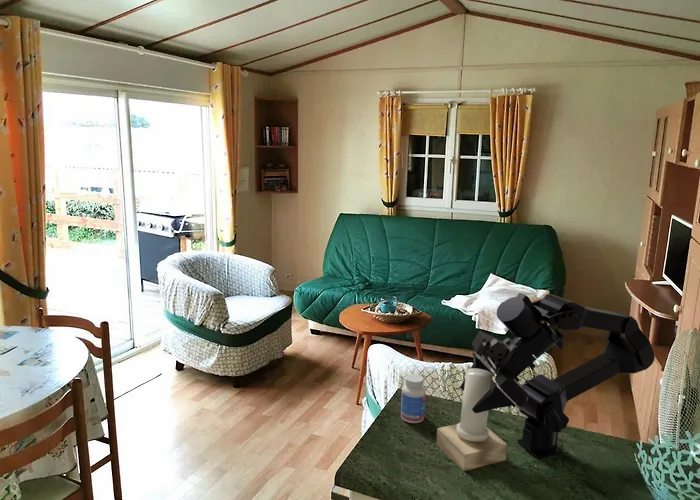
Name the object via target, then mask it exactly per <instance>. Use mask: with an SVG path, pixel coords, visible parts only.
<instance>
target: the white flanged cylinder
mask: <svg viewBox="0 0 700 500" xmlns="http://www.w3.org/2000/svg"><path fill="white" fill-rule="evenodd" d="M465 377H466V379H465V378H464V379H465V387H464V391H463V396H462V398H463V399H462V404H461V412H460V422H458V423H456V424H457V428H456V433H457V435H458V436H460V437H461V438H463V439H466V440H469V441H474V442H482V441H486V440H487V439H488V434H489V430H490V429H489V428H488V427H487V424H488V415H489V410H488V411H484V412H480V413H474V412H473V411H472V408H473V407H474V406H475V405H476V403H477V402H478V401H479V400H480V399H481V398H482V397H483V396H484V395H485V394H486V393H487V392H488V391H489V389H490V383H491V379H492V380H494V379H493V378H494V376H493V374H492V373H491V372H489V371H486V370H483V369H477V368H471V367H470V368H468V369H466V372H465ZM486 427H487V428H488V429H489V430H488V429H487V428H486Z"/></svg>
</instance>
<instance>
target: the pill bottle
mask: <svg viewBox="0 0 700 500" xmlns="http://www.w3.org/2000/svg"><path fill="white" fill-rule="evenodd" d="M404 383H405V384H404V385H403V386H402V387H401V401H400V402H401V403H400V405H401V408H400V409H401V410H400V418H401V419H402V420H403V421H405V422H407V423H411V424H418V423H421V422H423V421H424V419H425V414H426V413H425V411H426V397H427V391H426V390H427V389H426V387H425V386H424V377H423V376H422V375H419V374H407V375H406V376H405V381H404Z"/></svg>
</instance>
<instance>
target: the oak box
mask: <svg viewBox="0 0 700 500" xmlns="http://www.w3.org/2000/svg"><path fill="white" fill-rule="evenodd" d="M457 424H458V423H456V424H451V425H446V426H441V427H437V430H436V445H437V446H438V447H439V448H440V449H441V450H442V451H443V452H444V453H445V454H446V456H448V457H449V458H450V459H451V460H452V461H453V462H454V463H455V465H457V466H458V467H459V468H460V469H461V470H462V471H463V472H464V471H465V472H466V471H469V470H473V469H476V468H481V467H484V466H488V465H492V464H493V465H494V464H496V463H497V464H498V463H500V462H504V461H506V460H507V451H508V444H507V443H506V442H505V441H504V440H503V439H501V437H499V436H498V435H497V434H495V433H494V432H493V431H492V430H491V429H489V428H488V427H487V426H486V428H487V429H488V430H489V434H488V439H487V440H486V441H482V442H474V441H469V440H466V439H463V438H461V437H460V436H458V435H457V433H456V428H457Z"/></svg>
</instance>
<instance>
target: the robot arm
mask: <svg viewBox="0 0 700 500" xmlns="http://www.w3.org/2000/svg"><path fill="white" fill-rule="evenodd" d="M496 318H497V319H498V320H499V321H500V322H501V323H502V324H503V326H505V327H506V328H507V330H509V331H510V333H512V335H513V336H514V338H513V339H511V338H510V337H506V338H505V339H503V340H500V339H498V338H496V337H494V336H492V335H489V334H488V333H487V332H483V331H481V330H479V331H478V332H477V334H476V336H475V338H474V340H473V341H472V343H471V346H472V349H473V350H474V351H473V352H472V358H473V360H472V366H471V367H470V369H471V368H477V369H483V370H486V371H489V372H491V373H492V374H493V377H495V378H494V379H491V383H490V389H489V391H488V392H487V393H486V394H485V395H484V396H483V397H482V398H481V399H480V400H479V401H478V402H477V403H476V405H475V406H474V407H473V408H472V411H473V412H474V413H480V412H484V411H488V412H489V411H491V410H495V409H500V408H506V407H513V408H515V407H516V406H517V407H518V409H519V413H520V414H523V415H524V416H525V417H527V418H525V421H524V426H523V428H522V437H521V438H519V439H517V443H518V444H519V445H521V446H522V447H523V448H524V449H525V450H527V451H528V452H530V453H531V454H532V455H533V456H534V457H536V458H537V459H542V458H545V457H549V456H552V455H556V454H559V453H562V452H563V449H562V448H561V447H560V446H558V437H559V433H561V432H562V430H565V429H567V427H568V424H569V422H570V418H569V417H568V416H567V414H566V413H564V411H565V408H566V406H567V403H568V402H569V401H571V400H572V399H574V398H576V397H578V396H580V395H581V394H584V393H585V392H587V391H589V390H591V389H592V388H595V387H597V386H598V385H601V384H602V383H604V382H606V381H608V380H609V379H611V378H613V377H615V376H618V375H619V374H621V375H622V374H624V375H625V374H629V375H630V374H638V373H640V372H642V371H646V370H648V369H649V368H650V367H651V366H652V365H653V364H654V362H655V358H656V357H655V352H654V349H653V347H652V343H651V341H650V340H649V338H648V337H647V336H646V335H645V333H644V332H643V331H642V330H641V328H640V326H639V322H638V320H636V318H635V317H633V316H631V315H629V314H625V313H623V312H620V311H611V310H605V309H600V308H594V307H589V306H584V305H581V304H578V303H576V302H573V301H572V300H569V299H566V298H563V297H560V296H558V295H556V294H553V293H548V294H546V295H545V296H544V297H543V298H540V299H538V300H535V301H531V298H530V297H529V296H528V295H526V294H523V293H522V292H519V293H518V294H517V295H516V296H514V297H509V298H507V299H506V300H504V301H502V302H501V303H500V304H499V305H498V307H497V309H496ZM548 324H549V325H548ZM550 325H552V326H553V327H555V328H558V329H561V330H563V331H577V330H580V329H581V328H590V329H595V330H600V331H601V330H602V331H607V334H606V337H605V338H606V340H607V343H606V345H605V349H604V351H603V353H601V354H600V355H597V356H596V357H594V358H592V359H590V360H588V361H586V362H585V363H582V364H580V365H579V366H576V367H575V368H573V369H571V370H568V371H566V372H565V373H563V374H561V375H560V376H557V377H556V378H554V379H550V378H549V377H547V376H546V375H543V374H541V373H540V374H538V375H535V376H534V377H532V378H530V379H528V380H525V381H524V384H522V385H521V384H520V383H519V382H520V381H521V379H520V377H519V376H520V375H521V374H522V373H523V372H525V370H527V368H530V369H531V370H533V369H535V368H536V367H537V365H536V364H535V362H536V361H537V360H539V358H540V357H541V356H542V355H544V354H545V353H546V352H547V351H548V350H549V349H550V348H552V347H553V346H554V345H555V346H556V347H557V348H558V349H559V350H562V349H564V342H563V341H564V335H563V334H562V333H561V332H560V331H559V330H554V329H553V328H552V327H550ZM494 373H495V374H494ZM465 379H466V376H465V378H464V379H463V381H462V383H461V384H460V386H459V388H460V389H461V391H463V392H464V387H465Z"/></svg>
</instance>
